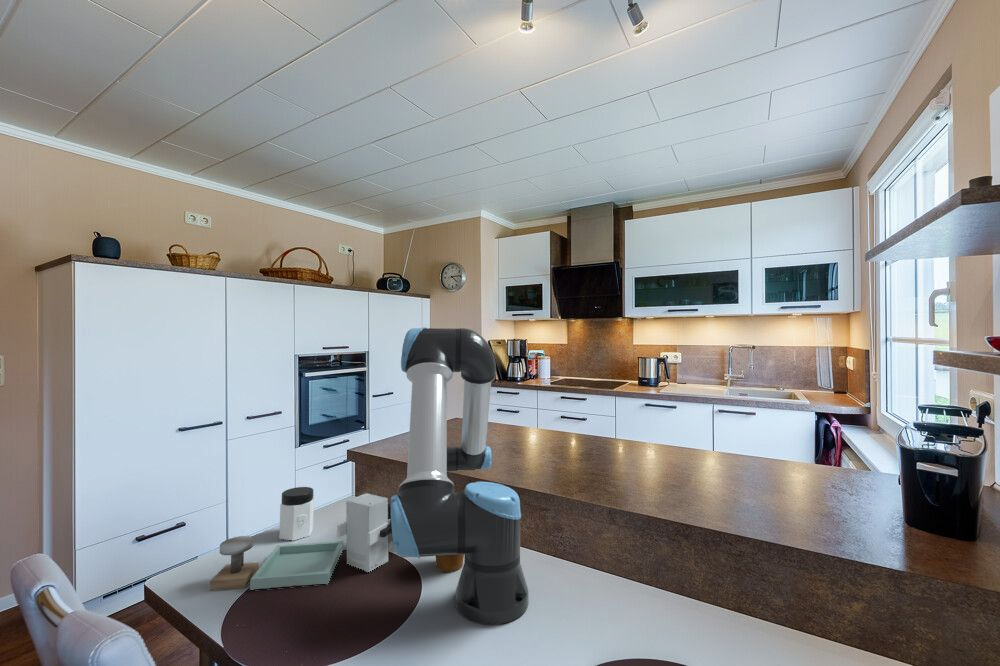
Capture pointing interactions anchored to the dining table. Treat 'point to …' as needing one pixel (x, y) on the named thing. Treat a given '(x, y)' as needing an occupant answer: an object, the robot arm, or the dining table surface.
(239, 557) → the mushroom shaped stand
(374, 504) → the skincare box
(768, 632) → the dining table surface
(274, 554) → the tray
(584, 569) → the dining table surface
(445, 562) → the disposable coffee cup
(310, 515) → the jar
